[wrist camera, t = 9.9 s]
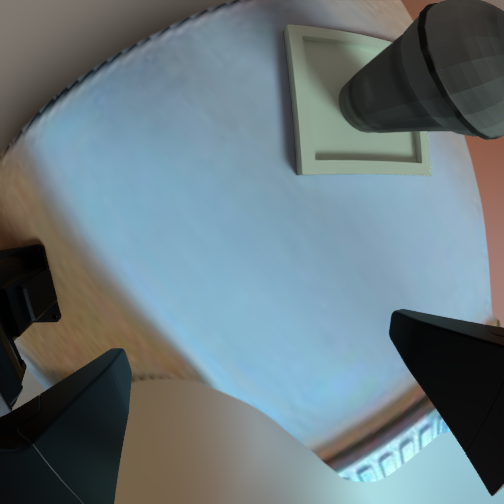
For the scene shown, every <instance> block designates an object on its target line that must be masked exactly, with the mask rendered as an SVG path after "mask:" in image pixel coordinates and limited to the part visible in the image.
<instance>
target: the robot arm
mask: <svg viewBox="0 0 504 504" xmlns="http://www.w3.org/2000/svg"><path fill="white" fill-rule="evenodd" d="M38 248H39V249H40V251H41V253H39V252H38ZM54 314H55V315H56V316H57V317H55V316H54ZM60 319H61V313H60V310H59V306H58V303H57V296H56V292H55V288H54V284H53V280H52V276H51V272H50V270H49V266H48V261H47V257H46V251H45V248H44V246H43V245H41V244H37V245H31V246H24V247H18V248H12V249H6V250H1V251H0V504H114V500H115V491H116V484H117V478H118V471H119V464H120V458H121V451H122V446H123V441H124V435H125V430H126V424H127V420H128V414H129V402H130V390H131V380H132V372H131V368H130V365H129V362H128V358H127V355H126V352H125V350H124V349H122V348H113V349H110V350H109V351H107V352H106V353H104V354H102V355H101V356H99V357H98V358H96V359H95V360H93V361H91V362H90V363H88V364H87V365H85V366H84V367H82V368H81V369H79V370H77V371H76V372H74V373H73V374H71V375H70V376H68V377H66V378H65V379H63V380H62V381H60V382H59V383H57V384H56V385H54V386H52V387H51V388H49V389H48V390H46V391H45V392H43V393H41V394H40V396H39V395H38V396H37V397H35V398H33V399H32V400H31V401H29V402H27V403H25V404H24V405H22V406H21V407H19V408H17V409H15V410H13V411H12V407H13V406H14V404H15V403H16V401H17V398H18V397H19V395H20V393H21V391H22V388H23V386H22V380H23V377H24V374H25V370H26V367H27V366H26V364H25V362H24V360H22V359H21V356H20V354H19V352H18V350H17V348H16V345H15V343H14V341H15V339H16V338H17V337H19V336H20V335H21V334H22V333H23V332H24V331H25V330H26V329H27V328H28V327H29V326H31V325H32V324H33V323H34V322H58V321H59V320H60ZM389 336H390V339H391V340H392V342H393V344H394V346H395V347H396V349H397V351H398V352H399V354H400V356H401V358H402V359H403V361H404V363H405V365H406V366H407V368H408V369H409V371H410V372H411V374H412V375H413V376H414V378H415V379H416V381H417V382H418V383H419V385H420V386H421V388H422V389H423V391H424V392H425V393H426V395H427V396H428V398H429V399H430V401H431V402H432V403H433V405H434V406H435V408H436V409H437V411H438V412H439V414H440V415H441V417H442V418H443V420H444V421H445V423H446V424H447V426H448V427H449V429H450V430H451V432H452V433H453V435H454V436H455V438H456V439H457V441H458V442H459V444H460V445H461V447H462V449H463V450H464V452H466V455H467V457H468V458H469V460H470V462H471V463H472V465H473V466H474V468H475V470H476V471H477V473H478V474H479V476H480V478H481V480H482V481H483V483H484V485H485V486H486V488H487V490H488V492H489V493H490V494H491V496H494V495H495V494H496V493H497V492H498V491H499V490H500V489H502V488H503V487H504V328H502V327H496V326H490V325H484V324H479V323H473V322H468V321H463V320H457V319H452V318H447V317H441V316H436V315H431V314H426V313H421V312H416V311H411V310H406V309H400V310H396V311H394V312H393V313H392V315H391V322H390V329H389ZM7 413H8V414H7ZM5 414H6V415H5ZM3 415H4V416H3ZM1 416H2V417H1Z"/></svg>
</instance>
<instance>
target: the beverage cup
mask: <svg viewBox="0 0 504 504" xmlns="http://www.w3.org/2000/svg"><path fill="white" fill-rule="evenodd" d="M339 106H340V110H341V113H342V115H343V116H344V118H345V120H346V121H347V122H348V123H349V124H350V125H351V126H352V127H353V128H355V129H357V130H358V131H360V132H365V133H393V132H419V131H453V132H455V133H458V134H463V135H468V136H479V137H481V138H483V139H485V140H489V139H497V138H499V137H501V136H503V135H504V11H503V10H501V9H499V8H497V7H496V6H494V5H492V4H489V3H487V2H484V1H481V0H446V1H442V2H440V3H434V4H429V5H427V6H426V7H425V8H424V9H423V10H422V11H421V12H420V15H419V17H418V18H417V19H416V20H415V21H414V22H413V23H412V24H411V25H410V26H409V27H408V28H407V30H406V31H405V32H404V34H402V35H401V36H400V37H399V38H397V39H396V40H395V41H394V42H393V43H391V44H390V45H389V46H388V47H386V48H385V49H384V50H383V51H382V52H380V53H379V54H378V55H377V56H376V57H374V58H373V59H372V60H371V61H370V62H369V63H367V64H366V65H365V66H364V67H363V68H362V69H360V70H359V71H358V72H357V73H356V74H355V75H354V76H353V77H352V78H351V79H350V80H349V81H348V82H347V83H346V84H345V85H344V86H343V87H342V89H341V91H340V94H339Z"/></svg>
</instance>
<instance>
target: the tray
mask: <svg viewBox="0 0 504 504" xmlns="http://www.w3.org/2000/svg"><path fill="white" fill-rule="evenodd" d="M283 32H284V40H285V48H286V57H287V65H288V74H289V84H290V94H291V104H292V115H293V127H294V140H295V153H296V168H297V175H320V174H398V175H425V176H431V165H430V148H429V136H428V131H419V132H393V133H365V132H360V131H358V130H357V129H355V128H353V127H352V126H351V125H350V124H349V123H348V122H347V121H346V120H345V118H344V116H343V115H342V113H341V110H340V106H339V94H340V91H341V89H342V87H343V86H344V85H345V84H346V83H347V82H348V81H349V80H350V79H351V78H352V77H353V76H354V75H355V74H356V73H357V72H358V71H359V70H360V69H362V68H363V67H364V66H365V65H366V64H367V63H369V62H370V61H371V60H372V59H373V58H374V57H376V56H377V55H378V54H379V53H380V52H382V51H383V50H384V49H385V48H386V47H388V46H389V45H390V44H391V43H393V42H390V41H386V40H382V39H378V38H374V37H369V36H365V35H360V34H355V33H350V32H345V31H339V30H333V29H326V28H319V27H311V26H302V25H291V24H287V26H286V28H285V30H284V31H283Z"/></svg>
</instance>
